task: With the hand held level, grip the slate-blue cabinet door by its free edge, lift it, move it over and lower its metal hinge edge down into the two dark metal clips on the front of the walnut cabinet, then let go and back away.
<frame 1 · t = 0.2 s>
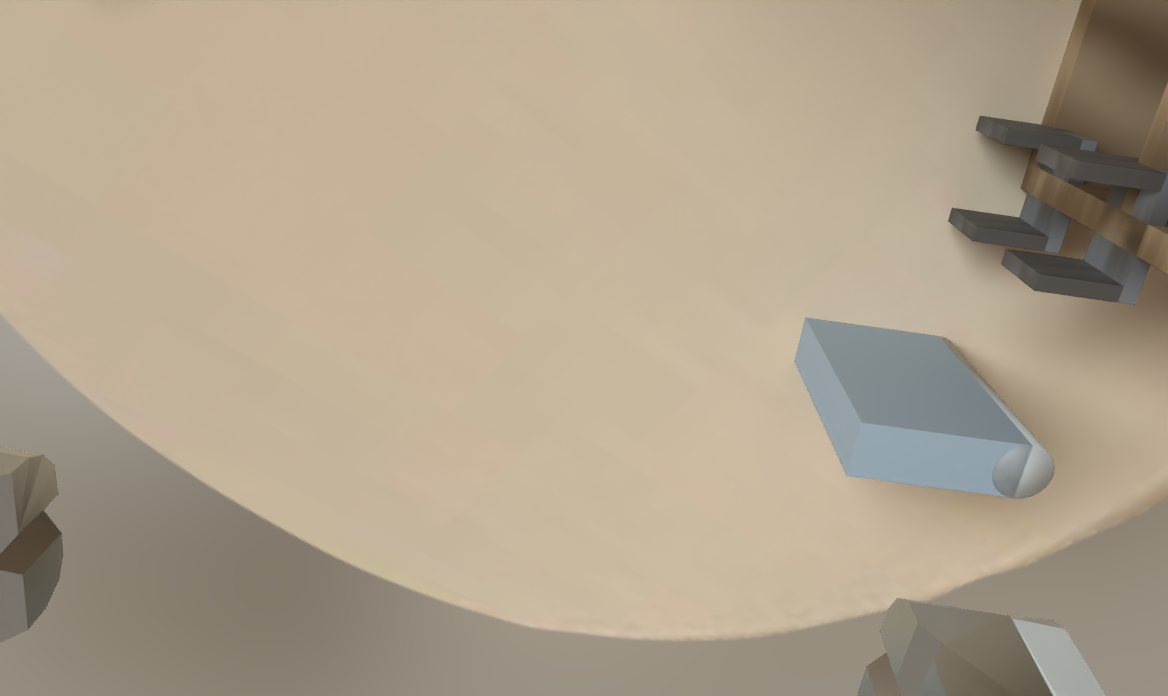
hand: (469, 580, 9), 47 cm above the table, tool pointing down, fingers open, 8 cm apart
door: (878, 350, 60), on the table
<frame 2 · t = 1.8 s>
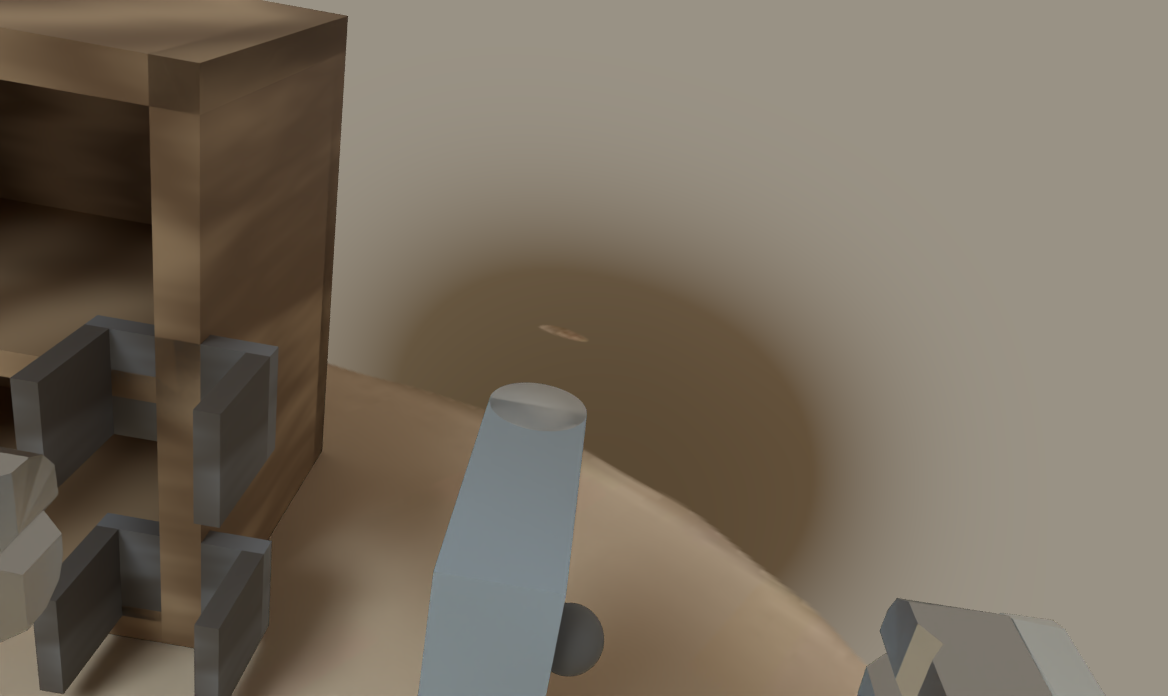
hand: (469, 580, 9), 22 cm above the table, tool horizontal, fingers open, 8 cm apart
cabinet: (79, 501, 43), on the table
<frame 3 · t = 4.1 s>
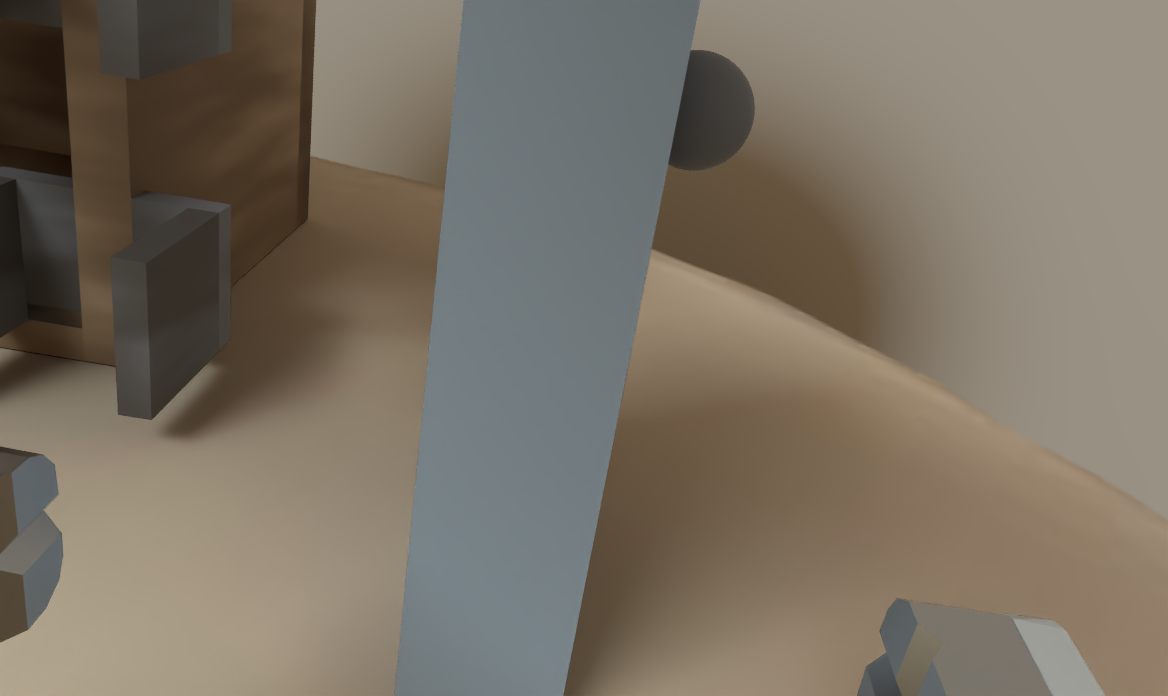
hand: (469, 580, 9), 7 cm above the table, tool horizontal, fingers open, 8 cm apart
door: (509, 552, 22), on the table
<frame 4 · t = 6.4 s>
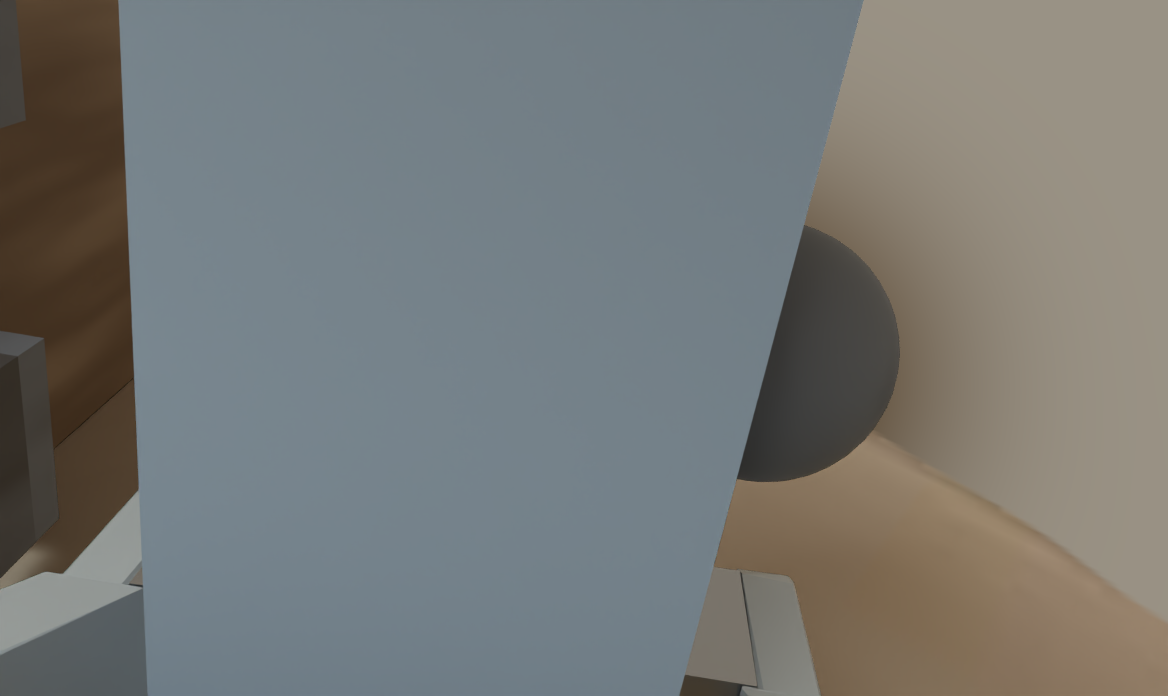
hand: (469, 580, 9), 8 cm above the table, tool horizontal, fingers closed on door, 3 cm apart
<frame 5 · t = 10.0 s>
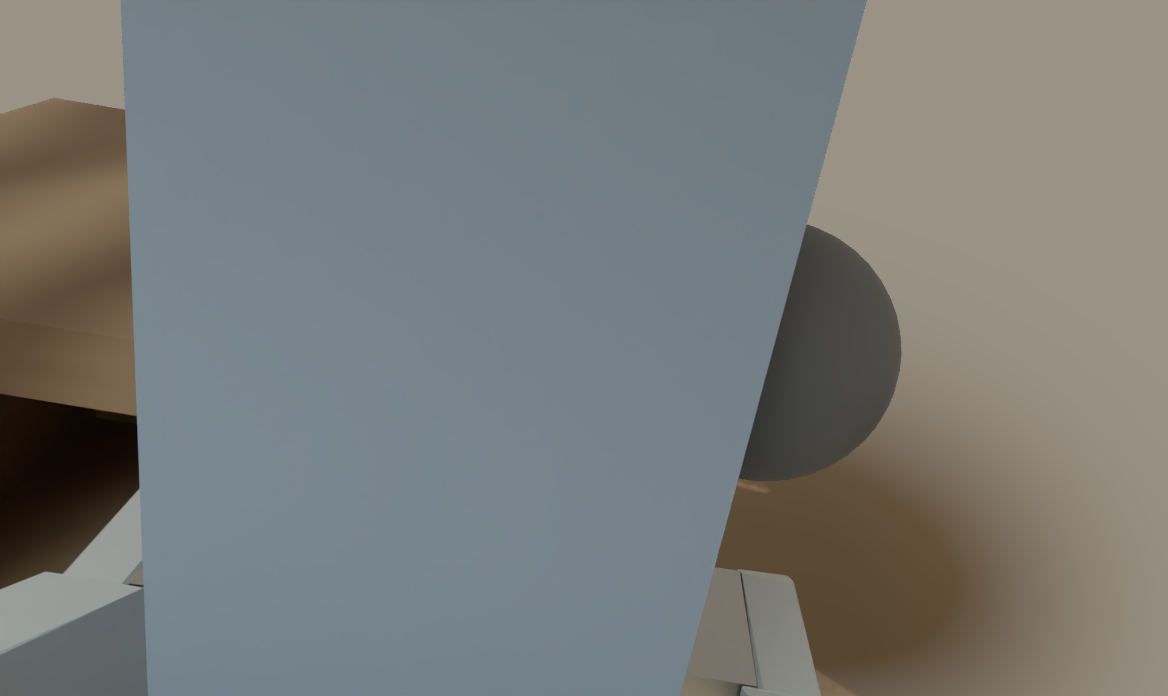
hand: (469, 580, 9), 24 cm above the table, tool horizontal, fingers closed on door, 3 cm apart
when the fingers open (9 cm above the table, at t = 13.9 s): door drops 1 cm, on the table.
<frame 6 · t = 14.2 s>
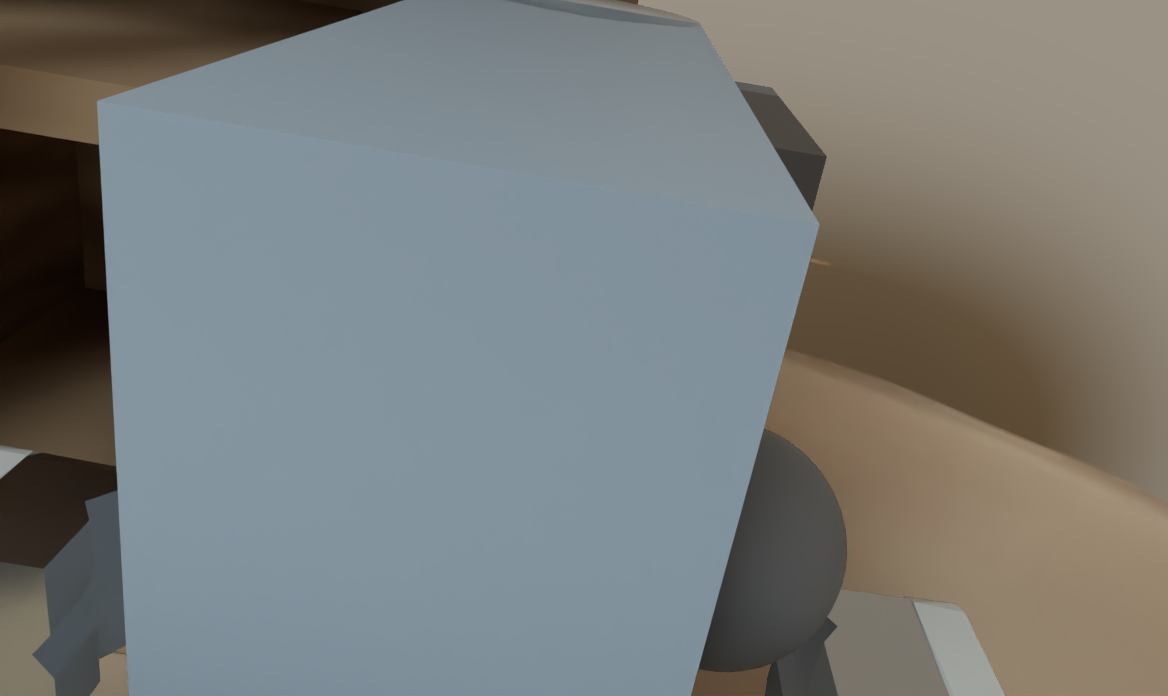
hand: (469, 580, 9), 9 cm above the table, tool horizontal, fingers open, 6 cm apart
cabinet: (233, 458, 26), on the table
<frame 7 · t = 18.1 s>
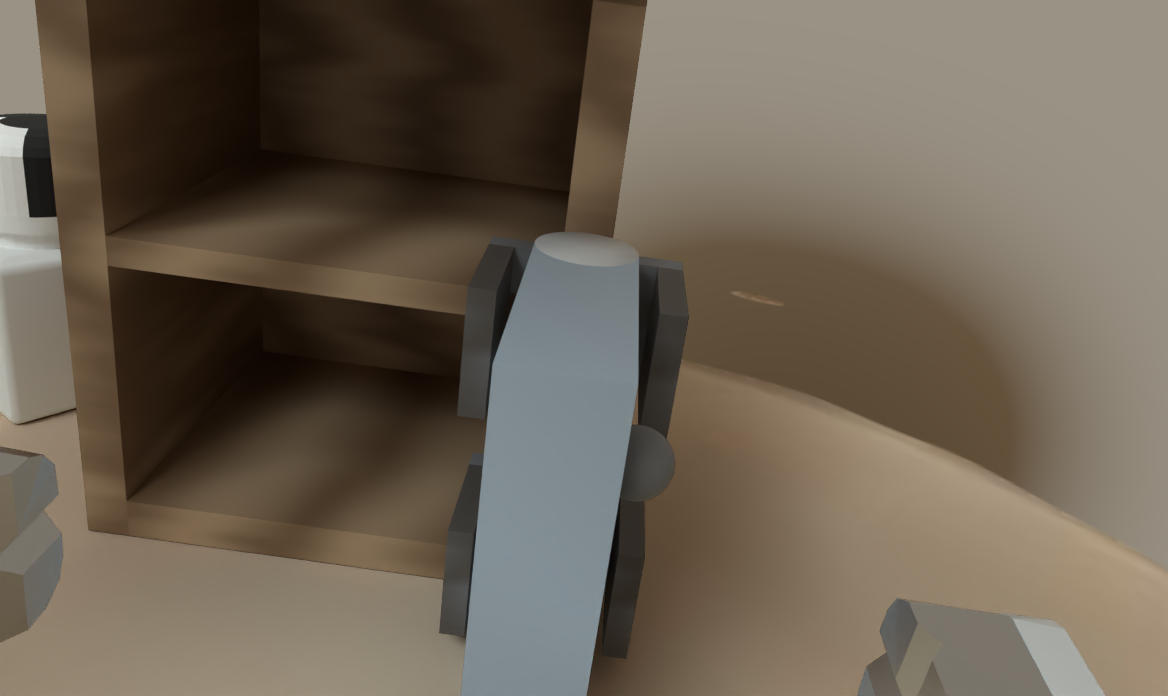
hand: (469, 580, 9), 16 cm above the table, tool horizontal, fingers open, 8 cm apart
medicine bottle: (61, 380, 45), on the table
cabinet: (377, 459, 42), on the table
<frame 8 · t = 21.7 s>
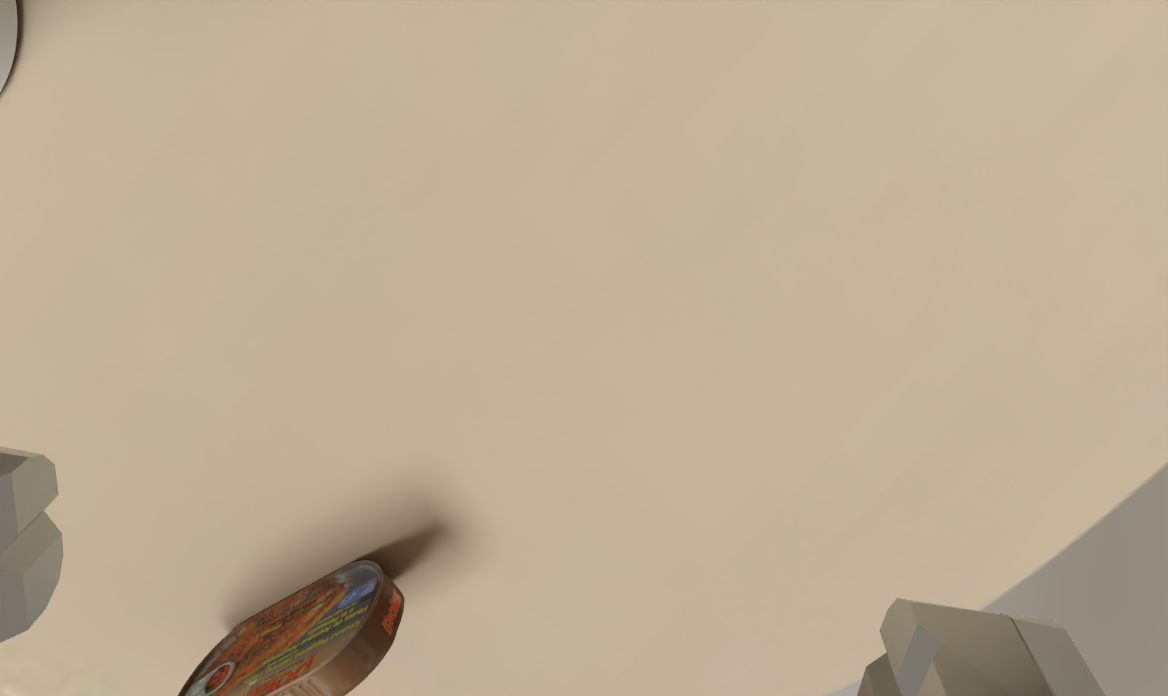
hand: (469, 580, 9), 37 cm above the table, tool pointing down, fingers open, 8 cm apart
tin: (313, 607, 57), on the table
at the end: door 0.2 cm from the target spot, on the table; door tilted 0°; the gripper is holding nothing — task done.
